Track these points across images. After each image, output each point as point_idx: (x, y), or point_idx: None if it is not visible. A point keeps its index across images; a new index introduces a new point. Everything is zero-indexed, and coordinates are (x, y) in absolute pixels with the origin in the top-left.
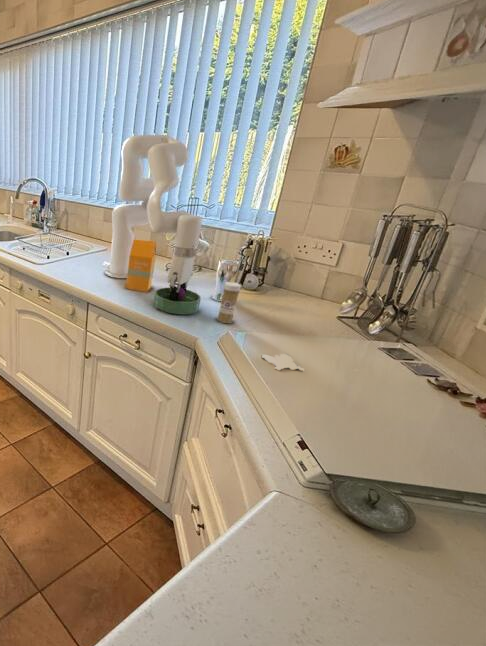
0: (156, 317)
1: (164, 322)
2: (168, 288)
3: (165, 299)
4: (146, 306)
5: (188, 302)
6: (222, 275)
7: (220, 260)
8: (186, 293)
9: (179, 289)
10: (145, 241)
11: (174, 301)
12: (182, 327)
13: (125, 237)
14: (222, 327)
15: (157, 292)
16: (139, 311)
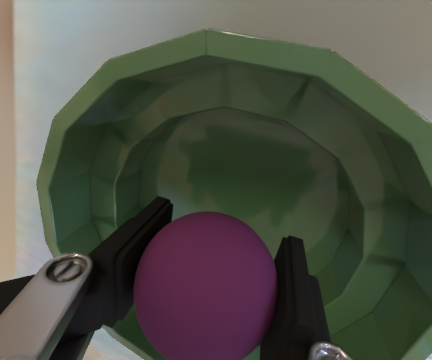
0: (39, 141)
1: (23, 185)
2: (418, 171)
3: (41, 195)
4: (137, 27)
5: (104, 327)
6: None
7: None
8: (388, 318)
9: (152, 343)
10: None
11: (55, 255)
12: (39, 249)
13: None
14: (133, 355)
15: (229, 61)
16: (32, 18)
